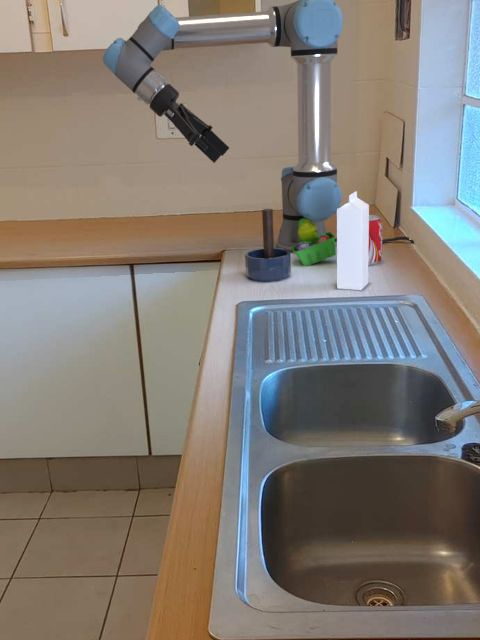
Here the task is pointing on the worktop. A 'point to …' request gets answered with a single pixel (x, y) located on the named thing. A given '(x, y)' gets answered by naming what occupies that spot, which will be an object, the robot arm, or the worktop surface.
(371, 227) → the soda can
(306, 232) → the fruit basket
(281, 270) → the bowl
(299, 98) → the robot arm
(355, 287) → the milk
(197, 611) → the worktop surface
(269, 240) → the brown post with base
